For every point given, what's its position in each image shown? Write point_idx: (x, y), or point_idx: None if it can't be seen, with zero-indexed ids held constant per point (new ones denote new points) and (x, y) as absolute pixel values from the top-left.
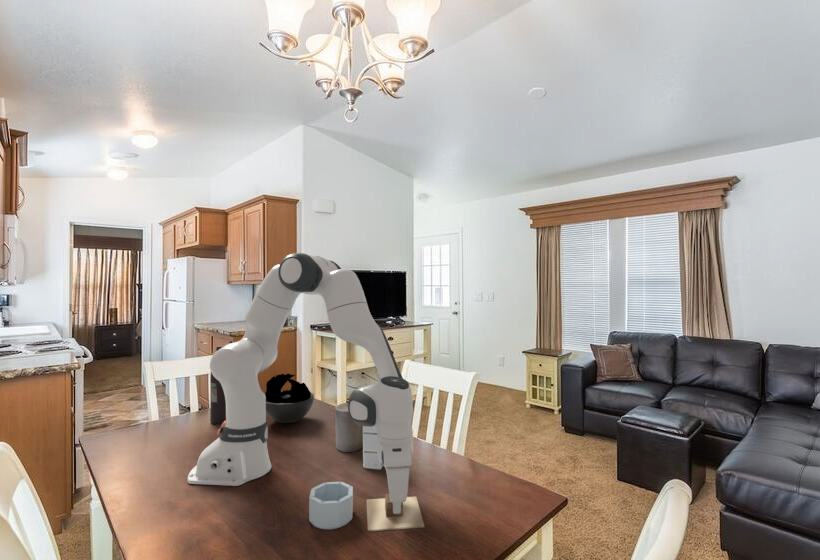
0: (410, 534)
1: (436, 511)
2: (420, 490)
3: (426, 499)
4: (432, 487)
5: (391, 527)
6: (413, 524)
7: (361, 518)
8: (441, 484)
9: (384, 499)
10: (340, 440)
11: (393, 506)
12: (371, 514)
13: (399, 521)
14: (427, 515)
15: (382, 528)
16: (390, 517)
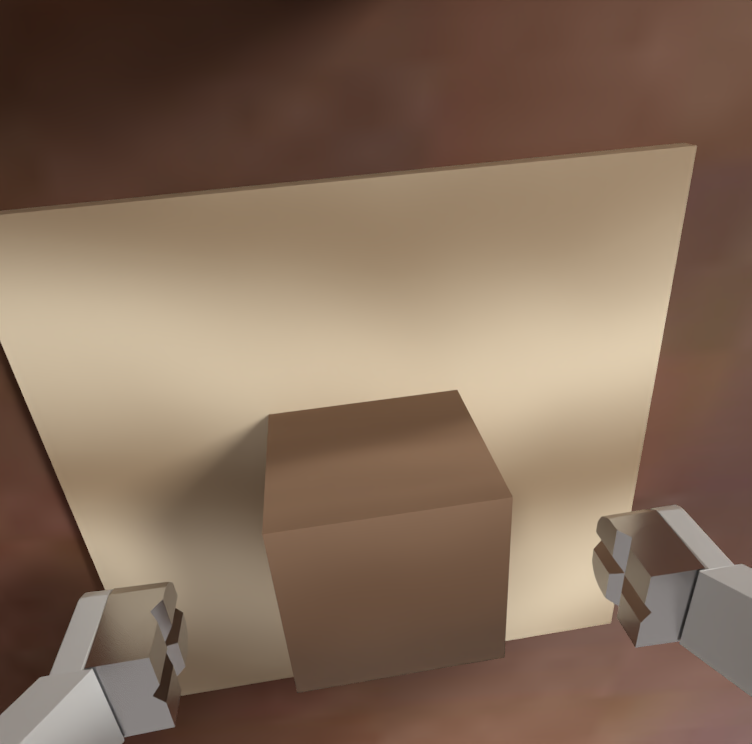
0: (21, 615)
1: (382, 733)
2: None
3: (562, 672)
4: (721, 691)
5: (71, 477)
6: None
7: (261, 98)
8: (739, 731)
9: (633, 370)
10: None
11: (39, 682)
12: (324, 242)
13: (197, 535)
14: (328, 693)
15: (29, 393)
16: (265, 454)
